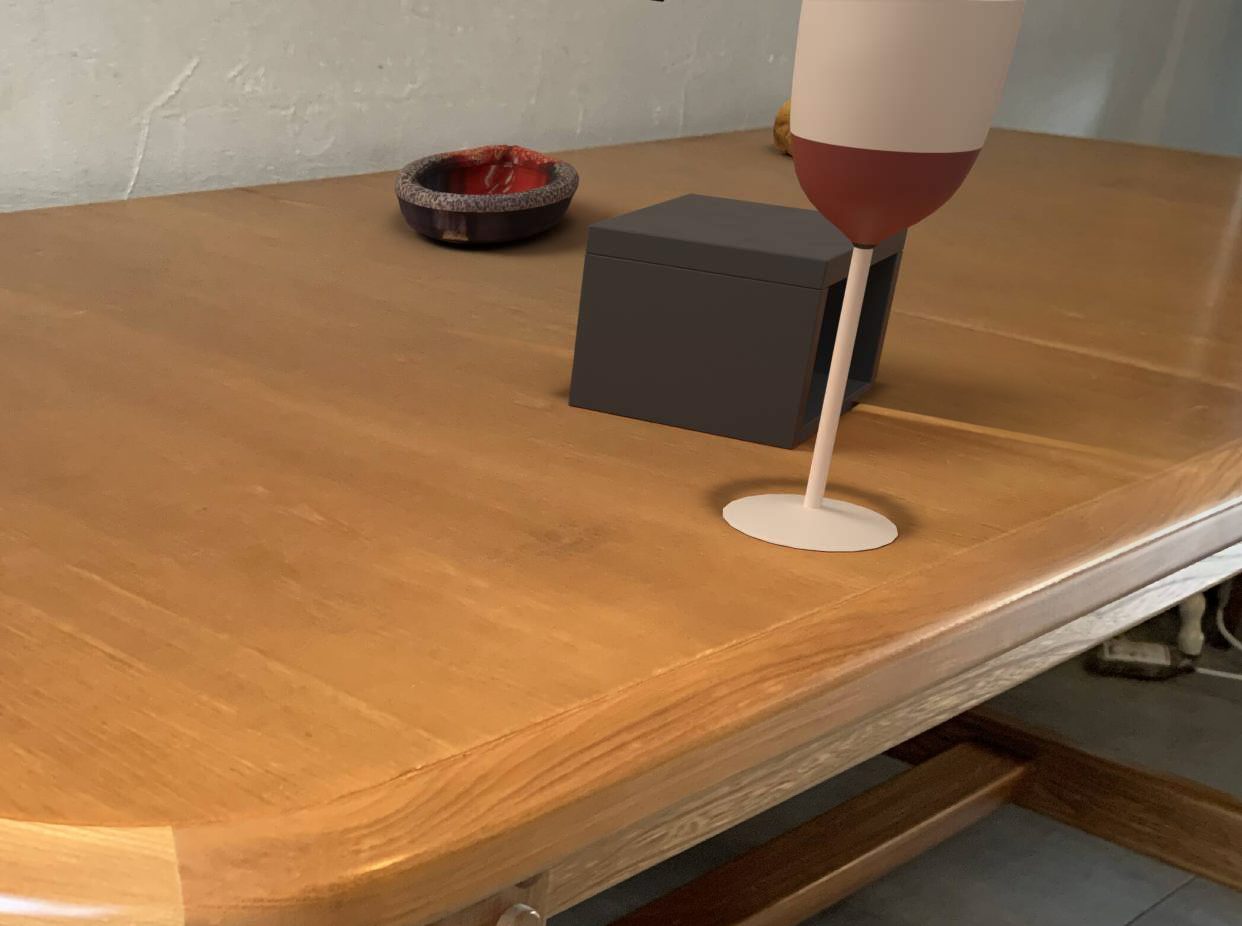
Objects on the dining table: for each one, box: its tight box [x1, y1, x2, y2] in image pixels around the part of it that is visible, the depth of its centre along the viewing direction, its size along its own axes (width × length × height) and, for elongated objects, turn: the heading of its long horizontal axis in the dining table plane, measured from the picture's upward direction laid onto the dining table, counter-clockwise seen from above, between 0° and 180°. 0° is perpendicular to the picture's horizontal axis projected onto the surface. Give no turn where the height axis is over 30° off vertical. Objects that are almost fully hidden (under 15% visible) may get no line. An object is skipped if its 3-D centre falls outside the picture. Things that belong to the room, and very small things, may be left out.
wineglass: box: [722, 0, 1027, 552], centre depth 78 cm, size 9×10×23 cm
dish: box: [393, 144, 580, 245], centre depth 148 cm, size 16×31×5 cm, turn 164°
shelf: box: [568, 193, 909, 450], centre depth 100 cm, size 14×15×10 cm
